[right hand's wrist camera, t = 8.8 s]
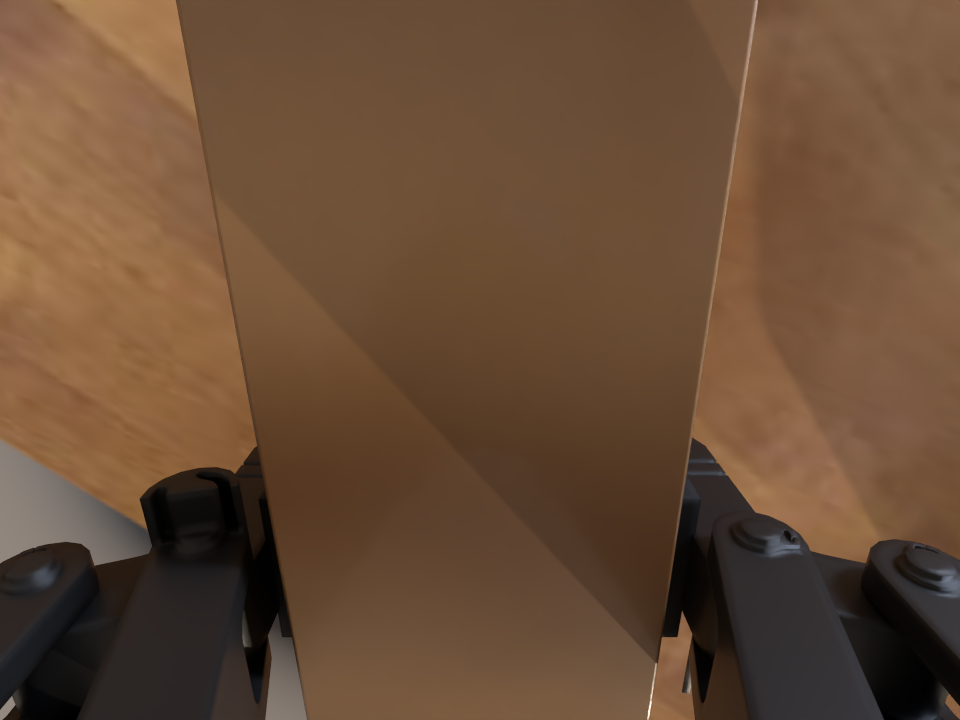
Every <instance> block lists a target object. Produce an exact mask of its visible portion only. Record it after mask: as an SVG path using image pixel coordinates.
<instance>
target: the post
mask: <svg viewBox="0 0 960 720" xmlns="http://www.w3.org/2000/svg"><path fill="white" fill-rule="evenodd" d="M176 3H177V9H178V14H179V20H180V25H181V31H182V36H183V42H184V47H185V52H186V58H187V63H188V69H189V74H190V80H191V85H192V91H193V96H194V102H195V107H196V113H197V118H198V124H199V129H200V135H201V140H202V146H203V151H204V157H205V162H206V168H207V173H208V179H209V184H210V190H211V195H212V201H213V206H214V211H215V217H216V222H217V228H218V233H219V239H220V244H221V250H222V255H223V261H224V266H225V272H226V277H227V283H228V288H229V294H230V299H231V305H232V310H233V316H234V321H235V327H236V332H237V338H238V343H239V349H240V354H241V360H242V365H243V371H244V376H245V381H246V387H247V392H248V398H249V403H250V409H251V414H252V420H253V425H254V431H255V436H256V442H257V447H258V453H259V458H260V464H261V469H262V475H263V480H264V486H265V491H266V497H267V502H268V508H269V513H270V519H271V524H272V530H273V535H274V540H275V546H276V551H277V557H278V562H279V568H280V573H281V579H282V584H283V590H284V595H285V601H286V606H287V612H288V617H289V623H290V628H291V634H292V639H293V644H294V650H295V655H296V661H297V667H298V672H299V678H300V683H301V688H302V694H303V700H304V705H305V710H306V716H307V720H649V718H650V712H651V705H652V698H653V692H654V685H655V679H656V672H657V665H658V659H659V652H660V646H661V639H662V632H663V626H664V619H665V613H666V606H667V599H668V593H669V586H670V580H671V573H672V566H673V560H674V553H675V547H676V540H677V533H678V527H679V520H680V514H681V507H682V500H683V494H684V487H685V481H686V474H687V467H688V461H689V454H690V448H691V441H692V434H693V428H694V421H695V414H696V408H697V401H698V395H699V388H700V381H701V375H702V368H703V362H704V355H705V348H706V342H707V335H708V329H709V322H710V315H711V309H712V302H713V296H714V289H715V282H716V276H717V269H718V263H719V256H720V249H721V243H722V236H723V230H724V223H725V216H726V210H727V203H728V197H729V190H730V183H731V177H732V170H733V164H734V157H735V150H736V144H737V137H738V131H739V124H740V117H741V111H742V104H743V98H744V91H745V84H746V78H747V71H748V64H749V58H750V51H751V45H752V38H753V31H754V25H755V18H756V12H757V5H758V0H176Z"/></svg>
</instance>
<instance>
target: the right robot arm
mask: <svg viewBox="0 0 960 720" xmlns="http://www.w3.org/2000/svg"><path fill="white" fill-rule="evenodd" d="M140 502H141V506H142V510H143V513H144V517H145V521H146V525H147V528H148V532H149V536H150V539H151V543H152V548H151V550H150V552H149V554H146V555H142V556H138V557H134V558H129V559H125V560H120V561H115V562H111V563H106V564H101V565H96V566H94V563H93V560H92V557H91V554H90V551H89V550H88V549H87V548H86V547H84V546H83V545H82V544H78V543H70V542H62V543H54V544H46V545H42V546H38V547H37V548H31V549H29V550H26V551H23V552H21V553H20V554H18V555H16V556H14V557H12V558H10V559H8V560H5V561H3V562H2V563H0V709H1V708H2V707H3V706H4V705H5V703H6V702H7V701H8V700H9V699H10V697H11V696H12V697H13V700H14V702H15V704H16V705H15V706H14V708H13V709H12V710H11V711H10V713H9V714H8V715H7V716H6V717H5V718H4V719H3V720H265V716H266V707H267V697H268V688H269V678H270V668H271V659H272V657H271V651H270V645H269V639H268V634H269V631H270V629H271V627H272V624H273V622H274V620H275V618H276V615H277V613H278V616H279V621H280V627H281V633H282V637H292V634H291V628H290V623H289V617H288V612H287V606H286V601H285V595H284V590H283V584H282V579H281V573H280V568H279V562H278V557H277V551H276V546H275V540H274V535H273V530H272V524H271V519H270V513H269V508H268V502H267V497H266V491H265V486H264V480H263V475H262V469H261V464H260V458H259V453H258V447H255V448H254V449H253V451H252V452H251V453H250V455H249V456H248V457H247V459H246V460H245V461H244V465H241V467H240V468H239V469H238V471H237V472H236V473H235V474H234V473H233V472H232V471H230V470H227V469H222V468H218V467H213V468H197V469H193V470H188V471H183V472H180V473H177V474H175V475H172V476H170V477H167V478H165V479H163V480H161V481H160V482H158V483H156V484H155V485H153V486H152V487H150V488H149V489H148V490H147V491H146V492H145V493H144V494H143V496H142V497H141V498H140ZM682 611H683V613H684V616H685V618H686V620H687V623H688V625H689V627H690V629H691V632H692V639H691V645H690V650H689V655H688V661H687V666H686V671H685V677H684V683H683V689H682V692H683V693H688V694H689V693H690V688H691V686H692V696H693V705H694V715H695V720H960V719H959V718H958V717H957V716H955V715H954V713H953V712H952V711H951V710H950V709H949V707H948V706H947V705H946V704H945V701H946V698H947V696H948V694H950V695H951V696H952V697H953V699H954V700H955V701H956V702H957V703H958V705H959V706H960V561H959V560H958V559H956V558H954V557H952V556H950V555H948V554H946V553H944V552H942V551H940V550H938V549H936V548H933V547H930V546H928V545H926V546H925V545H924V544H920V543H916V542H911V541H903V540H895V539H894V540H887V541H879V542H878V543H877V544H875V545H874V546H873V547H871V549H870V552H869V555H868V558H867V562H866V563H861V562H856V561H851V560H847V559H842V558H837V557H832V556H827V555H823V554H819V553H816V552H812V551H810V549H809V547H808V545H807V543H806V542H805V541H804V539H803V538H802V537H801V535H800V534H799V533H798V532H796V531H795V530H794V529H792V528H791V527H789V526H788V525H787V524H785V523H783V522H781V521H779V520H777V519H774V518H772V517H770V516H767V515H763V514H759V513H755V511H754V510H753V509H752V507H751V506H750V505H749V503H748V502H747V501H746V499H745V498H744V497H743V495H742V494H741V493H740V491H739V490H738V489H737V488H736V486H735V485H734V484H733V482H732V481H731V480H730V478H729V477H728V476H725V472H724V470H723V469H722V468H721V466H720V465H719V464H718V463H716V460H715V458H714V457H713V456H712V454H711V453H710V452H709V450H708V449H707V448H706V446H704V445H703V444H701V443H700V442H698V441H697V440H695V439H694V438H692V441H691V448H690V454H689V461H688V467H687V474H686V481H685V487H684V494H683V500H682V507H681V514H680V520H679V527H678V533H677V540H676V547H675V553H674V560H673V566H672V573H671V580H670V586H669V593H668V599H667V606H666V613H665V619H664V626H663V632H662V637H677V636H678V631H679V625H680V619H681V613H682Z"/></svg>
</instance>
